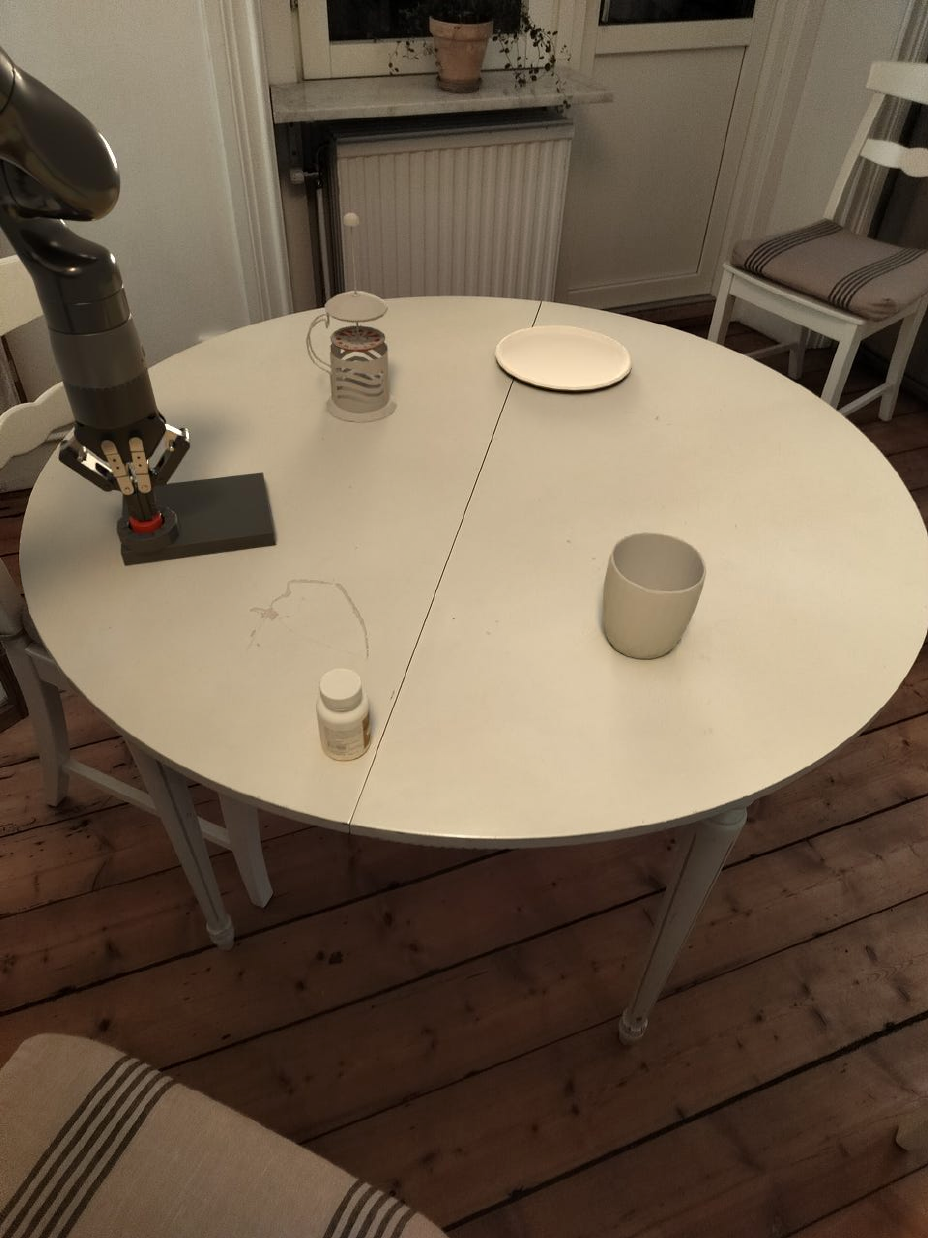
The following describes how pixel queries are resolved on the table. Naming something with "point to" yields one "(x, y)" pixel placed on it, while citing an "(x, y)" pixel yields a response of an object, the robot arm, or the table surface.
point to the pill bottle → (343, 715)
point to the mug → (650, 593)
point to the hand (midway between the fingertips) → (146, 516)
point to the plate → (563, 358)
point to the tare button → (146, 524)
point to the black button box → (202, 520)
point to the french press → (357, 391)
